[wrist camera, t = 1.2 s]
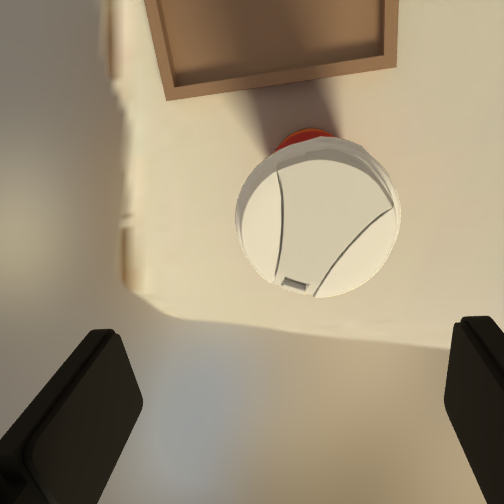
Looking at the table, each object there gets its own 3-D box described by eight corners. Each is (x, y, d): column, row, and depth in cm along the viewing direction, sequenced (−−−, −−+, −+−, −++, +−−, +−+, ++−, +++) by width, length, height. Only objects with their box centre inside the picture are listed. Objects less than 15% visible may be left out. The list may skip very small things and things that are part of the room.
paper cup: (336, 222, 30) (362, 326, 17) (249, 194, 30) (213, 279, 17) (376, 129, 26) (446, 175, 14) (278, 97, 26) (258, 115, 14)
